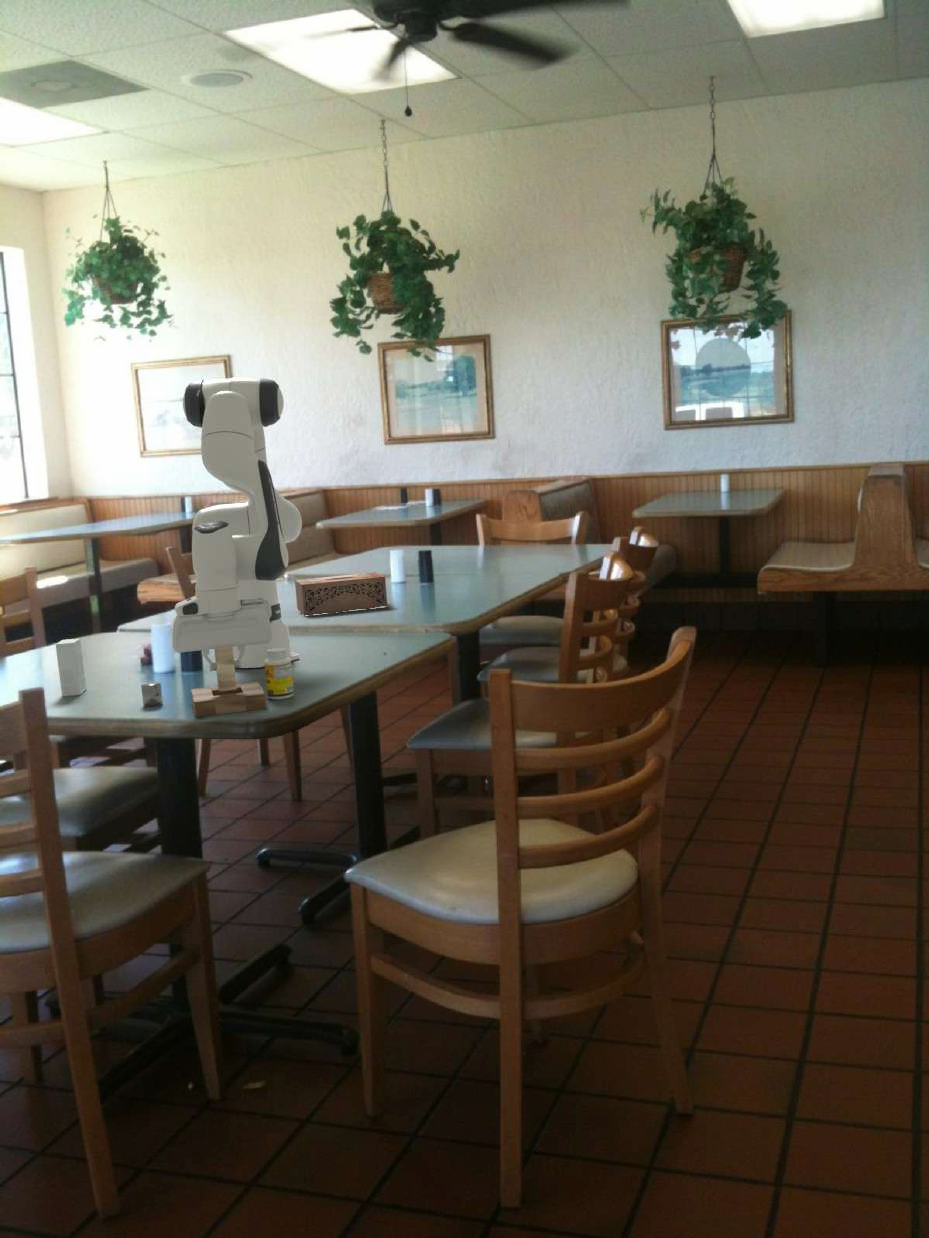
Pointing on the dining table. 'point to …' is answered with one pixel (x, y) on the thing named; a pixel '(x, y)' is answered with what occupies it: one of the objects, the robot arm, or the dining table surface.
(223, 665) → the long pin
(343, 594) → the tissue box cover
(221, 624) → the robot arm
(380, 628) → the dining table surface
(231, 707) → the hole plate
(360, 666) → the dining table surface
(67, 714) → the dining table surface
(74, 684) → the skincare box
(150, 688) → the short pin
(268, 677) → the supplement bottle
